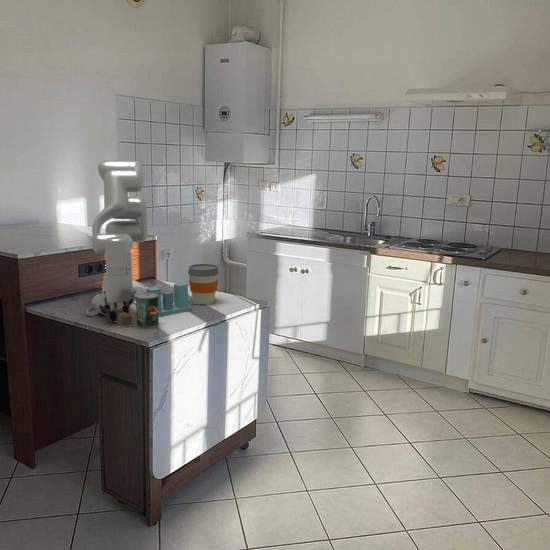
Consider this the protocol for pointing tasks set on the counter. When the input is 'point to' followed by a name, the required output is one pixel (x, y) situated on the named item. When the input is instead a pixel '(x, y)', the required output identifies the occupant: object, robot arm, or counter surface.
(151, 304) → the canned tomato
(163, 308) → the display stand
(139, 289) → the counter surface
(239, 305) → the counter surface
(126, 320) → the walnut bar
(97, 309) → the ceramic mug
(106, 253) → the robot arm
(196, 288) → the reusable coffee cup
